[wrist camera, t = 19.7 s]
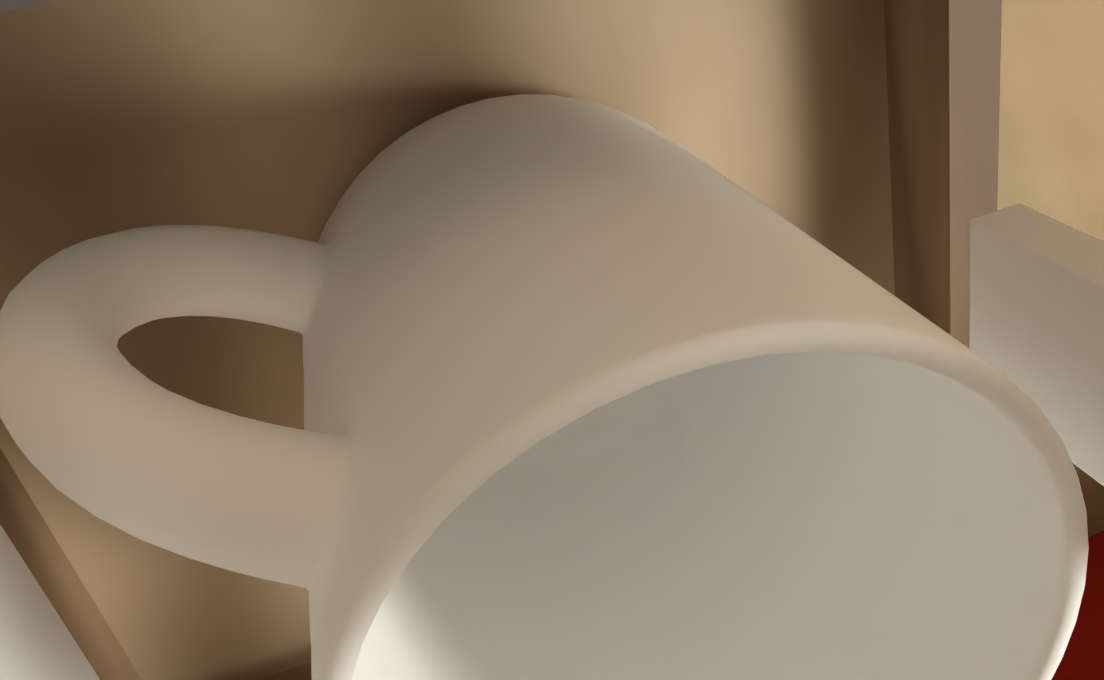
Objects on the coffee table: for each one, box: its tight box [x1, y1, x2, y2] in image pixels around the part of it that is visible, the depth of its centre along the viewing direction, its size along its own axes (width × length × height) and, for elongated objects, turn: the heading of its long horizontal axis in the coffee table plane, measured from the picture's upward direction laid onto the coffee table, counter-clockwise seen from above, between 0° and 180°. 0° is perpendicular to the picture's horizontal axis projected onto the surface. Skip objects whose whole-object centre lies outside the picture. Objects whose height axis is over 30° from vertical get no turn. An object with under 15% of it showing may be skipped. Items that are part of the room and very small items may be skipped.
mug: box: [0, 94, 1089, 680], centre depth 13 cm, size 12×8×10 cm
